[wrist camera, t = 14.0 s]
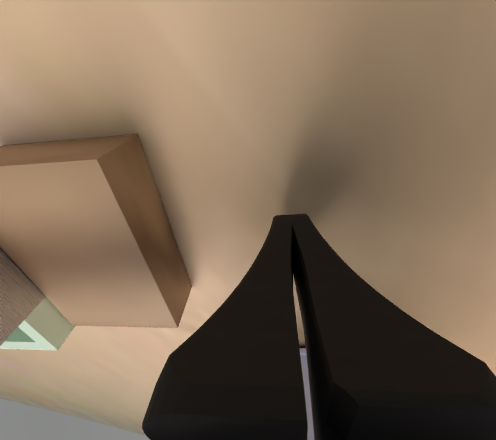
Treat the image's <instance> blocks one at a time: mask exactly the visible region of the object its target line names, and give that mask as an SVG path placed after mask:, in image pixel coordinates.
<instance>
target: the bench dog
mask: <svg viewBox="0 0 496 440" xmlns="http://www.w3.org/2000/svg"><path fill="white" fill-rule="evenodd" d="M45 297H46V296H45V295H44V294H43V293H42V292H41V291H40V289H39V288H38V287H37V286H36V285H35V284H34V283H33V282H32V281H31V280H30V279H29V277H28V276H27V275H26V274H25V273H24V272H23V271H22V270H21V269H20V268H19V267H18V265H17V264H16V263H15V262H14V261H13V260H12V259H11V258H10V257H9V256H8V255H7V253H6V252H5V251H4V250H3V249H2V248H1V247H0V346H1V345H2V344H3V343H4V342H5V340H6V339H7V338H8V337H9V336H10V335H11V334H12V333H13V332H14V331H15V330H16V328H17V327H18V326H19V325H20V324H21V323H22V322H23V321H24V320H25V319H26V318H27V317H28V315H29V314H30V313H31V312H32V311H33V310H34V309H35V308H36V307H37V306H38V305H39V303H40V302H41V301H42V300H43V299H44V298H45Z"/></svg>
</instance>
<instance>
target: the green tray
mask: <svg viewBox="0 0 496 440" xmlns="http://www.w3.org/2000/svg"><path fill="white" fill-rule="evenodd" d="M75 326H76V325H72V324H71V323H70V322H69V321H68V320H67V319H66V318H65V317H64V316H63V314H62V313H61V312H60V311H59V310H58V309H57V308H56V307H55V306H54V305H53V304H52V302H51V301H50V300H49V299H48V298H47V297H45V298H44V299H43V300H42V301H41V302H40V303H39V305H38V306H37V307H36V308H35V309H34V310H33V311H32V312H31V313H30V314H29V315H28V317H27V318H26V319H25V320H24V321H23V322H22V323H21V324H20V325H19V326H18V327H17V328H16V330H15V331H14V332H13V333H12V334H11V335H10V336H9V337H8V338H7V339H6V340H5V342H4V343H3V344H2V345H1V346H0V349H30V350H58V349H59V348H60V347H61V345H62V344H63V342H64V341H65V340H66V338H67V337H68V335H69V334H70V333H71V331H72V330H73V328H74V327H75Z"/></svg>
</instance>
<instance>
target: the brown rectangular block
mask: <svg viewBox="0 0 496 440" xmlns="http://www.w3.org/2000/svg"><path fill="white" fill-rule="evenodd" d="M0 247H1V248H2V249H3V250H4V251H5V252H6V253H7V255H8V256H9V257H10V258H11V259H12V260H13V261H14V262H15V263H16V264H17V265H18V267H19V268H20V269H21V270H22V271H23V272H24V273H25V274H26V275H27V276H28V277H29V279H30V280H31V281H32V282H33V283H34V284H35V285H36V286H37V287H38V288H39V289H40V291H41V292H42V293H43V294H44V295H45V296H46V297H47V298H48V299H49V300H50V301H51V302H52V304H53V305H54V306H55V307H56V308H57V309H58V310H59V311H60V312H61V313H62V314H63V316H64V317H65V318H66V319H67V320H68V321H69V322H70V323H71V324H72V325H76V326H115V327H154V328H178V326H179V323H180V320H181V317H182V314H183V311H184V308H185V305H186V302H187V299H188V297H189V294H190V291H191V288H192V285H191V283H190V280H189V277H188V274H187V271H186V269H185V266H184V263H183V260H182V257H181V254H180V252H179V249H178V246H177V243H176V240H175V238H174V235H173V232H172V229H171V226H170V224H169V221H168V218H167V215H166V212H165V209H164V207H163V204H162V201H161V198H160V195H159V193H158V190H157V187H156V184H155V181H154V178H153V176H152V173H151V170H150V167H149V164H148V162H147V159H146V156H145V153H144V150H143V148H142V145H141V142H140V139H139V136H138V134H132V135H121V136H109V137H97V138H85V139H74V140H62V141H50V142H39V143H27V144H15V145H4V146H1V147H0Z"/></svg>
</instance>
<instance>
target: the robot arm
mask: <svg viewBox="0 0 496 440" xmlns="http://www.w3.org/2000/svg"><path fill="white" fill-rule="evenodd" d="M293 274H294V280H295V285H296V290H297V295H298V300H299V306H300V311H301V316H302V321H303V328H304V335H305V345H306V348H299V341H298V333H297V324H296V315H295V306H294V296H293ZM142 428H143V431H144V433H145V434H146V436H147V437H148V438H149V439H151V440H496V376H495V375H494V374H493V373H492V371H491V370H490V369H489V367H488V366H487V365H486V363H484V362H483V361H481V360H480V359H478V358H476V357H475V356H473V355H471V354H470V353H468V352H466V351H465V350H463V349H461V348H460V347H458V346H456V345H455V344H453V343H451V342H450V341H448V340H446V339H445V338H443V337H441V336H440V335H438V334H436V333H435V332H433V331H432V330H430V329H429V328H427V327H426V326H424V325H423V324H421V323H420V322H418V321H417V320H415V319H414V318H412V317H411V316H409V315H408V314H406V313H405V312H403V311H402V310H401V309H399V308H398V307H397V306H395V305H394V304H393V303H391V302H390V301H389V300H388V299H386V298H385V297H384V296H382V295H381V294H380V293H378V292H377V291H376V290H375V289H373V288H372V287H371V286H370V285H369V284H367V283H366V282H365V281H364V280H363V279H362V278H361V277H360V276H358V275H357V274H356V273H355V272H354V271H353V270H352V269H351V268H350V267H349V266H348V265H347V264H346V263H345V262H344V261H343V260H342V259H341V258H340V257H339V256H338V255H337V253H336V252H335V251H334V250H333V249H332V248H331V247H330V245H329V244H328V243H327V242H326V241H325V239H324V238H323V237H322V236H321V234H320V233H319V232H318V230H317V229H316V227H315V226H314V225H313V223H312V221H311V220H310V218H309V216H308V215H306V214H295V215H277V216H275V217H274V218H273V222H272V225H271V228H270V231H269V233H268V236H267V238H266V240H265V242H264V244H263V247H262V249H261V250H260V252H259V254H258V256H257V257H256V259H255V261H254V263H253V264H252V266H251V267H250V269H249V271H248V272H247V274H246V275H245V276H244V278H243V279H242V281H241V282H240V283H239V285H238V286H237V287H236V288H235V290H234V291H233V292H232V293H231V295H230V296H229V297H228V298H227V300H226V301H225V302H224V303H223V304H222V305H221V306H220V307H219V308H218V309H217V311H216V312H215V313H214V314H213V315H212V316H211V317H210V318H209V319H208V320H207V321H206V322H205V323H204V324H203V325H202V326H201V327H200V328H199V329H198V330H197V331H196V332H195V333H194V334H193V335H191V336H190V337H189V338H188V339H187V340H186V341H185V342H184V343H183V344H181V345H180V346H179V347H178V348H177V349H176V350H175V351H174V352H173V353H171V354H170V355H169V357H168V359H167V362H166V364H165V366H164V368H163V370H162V372H161V374H160V376H159V379H158V381H157V383H156V386H155V388H154V391H153V394H152V397H151V400H150V403H149V406H148V408H147V411H146V414H145V417H144V420H143V423H142Z"/></svg>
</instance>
